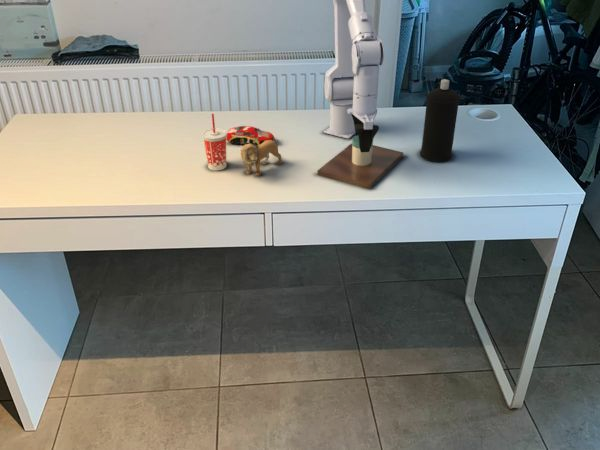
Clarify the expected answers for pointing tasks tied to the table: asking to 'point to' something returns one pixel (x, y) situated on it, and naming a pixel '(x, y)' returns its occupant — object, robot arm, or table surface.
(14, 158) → the table surface
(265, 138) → the race car
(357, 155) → the cream jar
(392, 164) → the walnut board
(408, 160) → the table surface
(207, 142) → the beverage cup
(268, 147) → the lion figurine
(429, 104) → the aerosol can
